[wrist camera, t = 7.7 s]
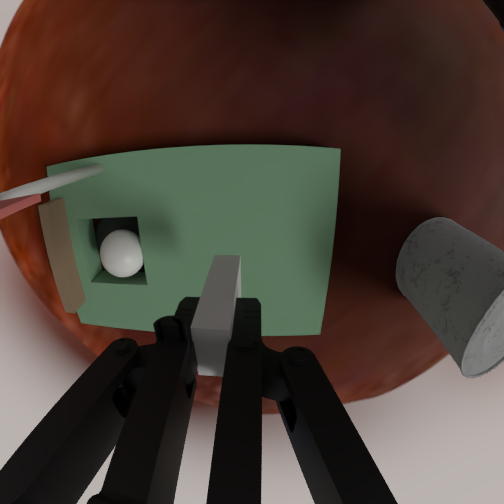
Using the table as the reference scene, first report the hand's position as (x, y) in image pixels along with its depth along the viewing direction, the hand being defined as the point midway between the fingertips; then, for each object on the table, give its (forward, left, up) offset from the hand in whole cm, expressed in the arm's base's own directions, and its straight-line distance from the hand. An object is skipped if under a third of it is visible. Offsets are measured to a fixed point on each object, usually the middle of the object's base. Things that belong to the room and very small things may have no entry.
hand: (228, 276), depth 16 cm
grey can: (+2, +20, -8) cm, 22 cm away
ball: (+1, -9, -5) cm, 11 cm away
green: (+1, -4, -7) cm, 9 cm away
